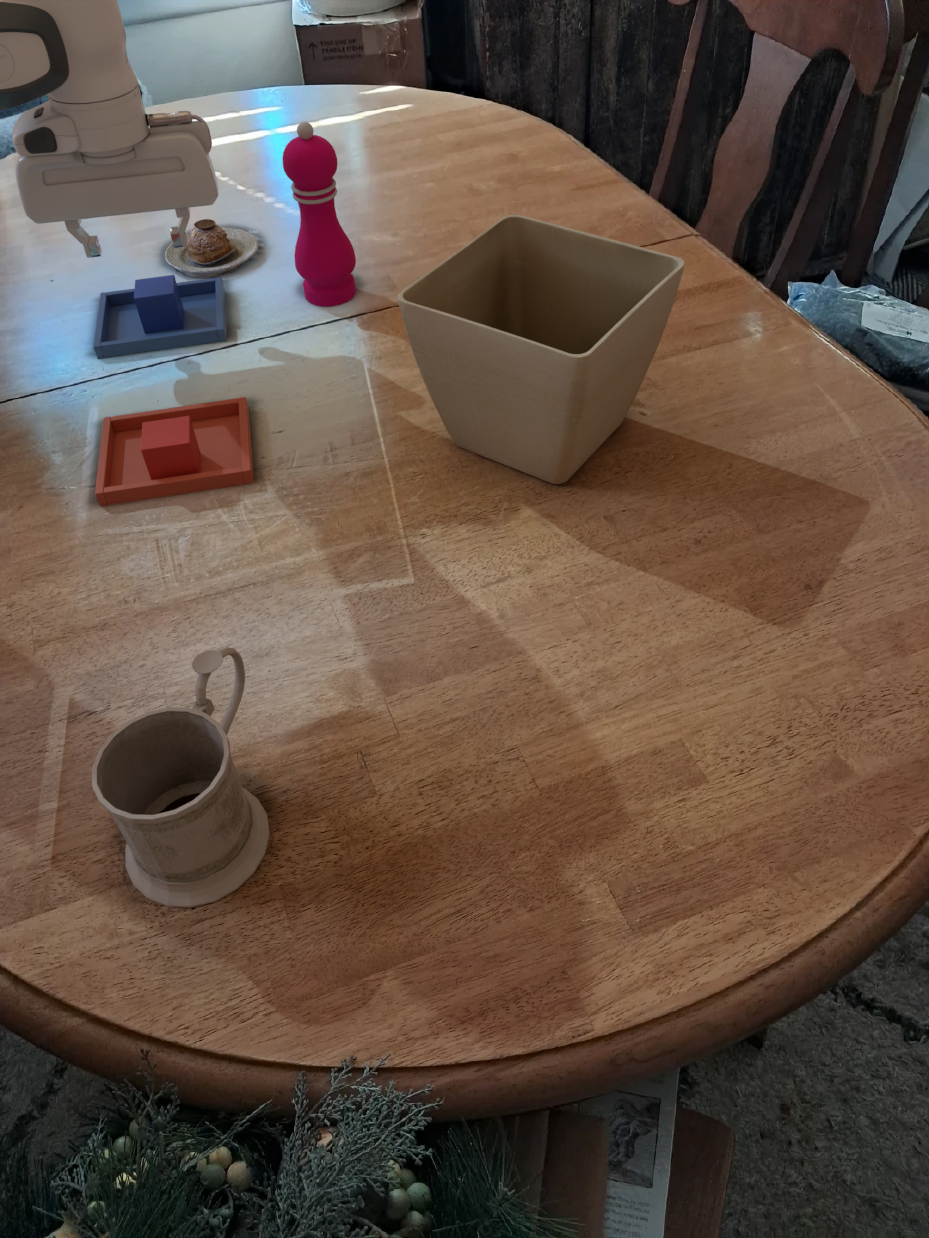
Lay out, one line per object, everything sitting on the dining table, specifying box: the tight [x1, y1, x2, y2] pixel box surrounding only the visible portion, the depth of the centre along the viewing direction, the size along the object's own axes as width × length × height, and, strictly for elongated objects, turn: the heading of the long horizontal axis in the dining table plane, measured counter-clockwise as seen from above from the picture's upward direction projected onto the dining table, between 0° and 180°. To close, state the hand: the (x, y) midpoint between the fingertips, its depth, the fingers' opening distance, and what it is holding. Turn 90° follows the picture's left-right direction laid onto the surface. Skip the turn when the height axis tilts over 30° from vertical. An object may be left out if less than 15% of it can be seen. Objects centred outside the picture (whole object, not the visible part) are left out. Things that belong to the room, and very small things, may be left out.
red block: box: [141, 416, 201, 480], centre depth 95 cm, size 4×4×4 cm
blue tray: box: [92, 276, 228, 360], centre depth 117 cm, size 15×13×2 cm
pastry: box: [164, 218, 259, 279], centre depth 127 cm, size 12×12×5 cm
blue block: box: [134, 274, 184, 334], centre depth 115 cm, size 4×4×4 cm
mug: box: [91, 646, 271, 909], centre depth 66 cm, size 14×10×12 cm
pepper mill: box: [282, 121, 357, 308], centre depth 113 cm, size 7×7×20 cm
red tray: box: [94, 396, 255, 507], centre depth 98 cm, size 15×13×2 cm
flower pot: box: [396, 213, 686, 485], centre depth 93 cm, size 19×19×17 cm
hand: (138, 250), depth 110 cm, fingers open, 8 cm apart
